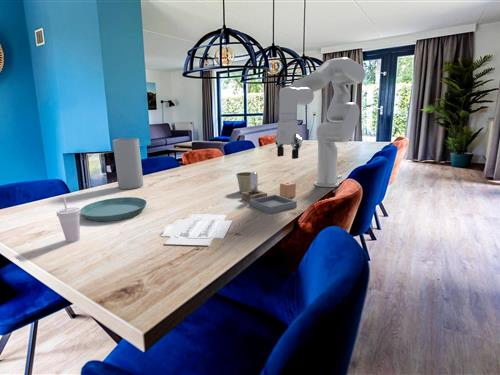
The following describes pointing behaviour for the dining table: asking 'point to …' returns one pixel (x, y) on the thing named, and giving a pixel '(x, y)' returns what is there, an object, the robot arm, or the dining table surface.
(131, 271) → the dining table surface
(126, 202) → the teal plate
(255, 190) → the steel pin
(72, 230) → the smoothie
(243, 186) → the flower pot
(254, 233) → the dining table surface
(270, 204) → the grey square tray
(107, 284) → the dining table surface
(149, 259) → the dining table surface
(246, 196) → the walnut bore block
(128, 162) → the cylinder vase
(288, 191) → the orange block with knob
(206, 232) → the white flat piece
